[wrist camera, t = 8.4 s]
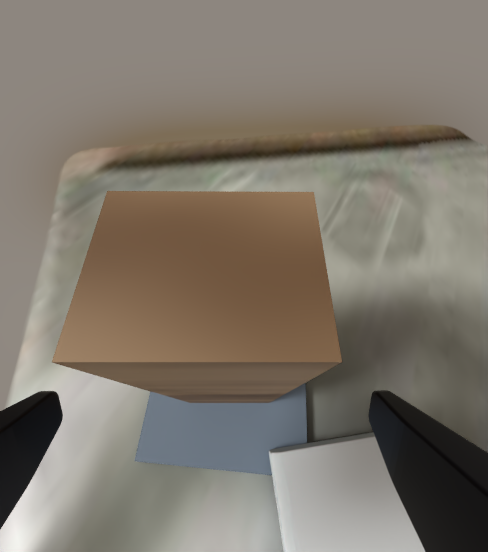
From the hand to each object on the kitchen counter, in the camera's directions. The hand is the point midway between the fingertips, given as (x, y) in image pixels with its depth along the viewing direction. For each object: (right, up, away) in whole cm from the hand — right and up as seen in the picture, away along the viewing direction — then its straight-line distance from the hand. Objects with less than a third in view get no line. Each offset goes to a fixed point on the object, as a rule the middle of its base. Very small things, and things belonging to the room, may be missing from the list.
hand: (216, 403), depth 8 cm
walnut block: (0, -3, +10) cm, 11 cm away
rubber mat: (0, -3, +11) cm, 11 cm away
